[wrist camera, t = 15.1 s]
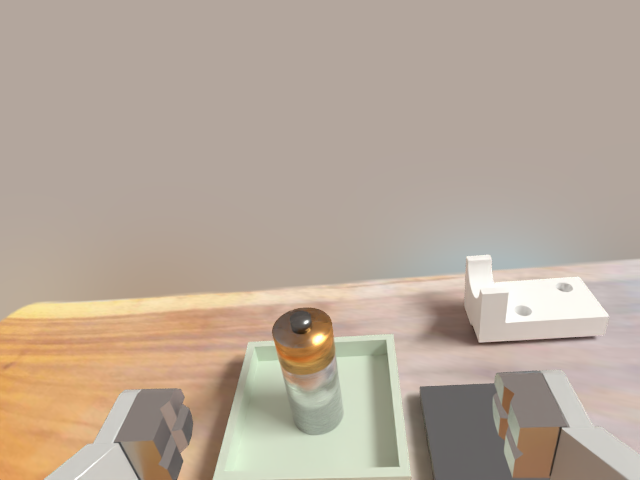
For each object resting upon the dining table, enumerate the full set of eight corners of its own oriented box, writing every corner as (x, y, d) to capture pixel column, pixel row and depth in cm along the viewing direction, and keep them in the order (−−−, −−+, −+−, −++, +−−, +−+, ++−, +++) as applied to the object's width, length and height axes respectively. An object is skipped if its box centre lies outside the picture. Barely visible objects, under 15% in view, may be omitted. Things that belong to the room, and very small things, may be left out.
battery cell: (289, 436, 42) (265, 341, 36) (294, 392, 47) (274, 300, 41) (343, 435, 42) (329, 337, 36) (344, 390, 46) (331, 297, 40)
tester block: (436, 497, 37) (437, 473, 35) (419, 397, 45) (419, 374, 44) (566, 495, 36) (573, 470, 34) (524, 392, 44) (528, 368, 43)
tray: (220, 501, 39) (212, 480, 37) (253, 361, 52) (248, 342, 51) (411, 498, 37) (411, 476, 35) (394, 354, 51) (393, 333, 49)
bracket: (478, 348, 50) (482, 294, 46) (463, 307, 56) (466, 256, 52) (602, 341, 49) (617, 285, 45) (574, 300, 55) (584, 247, 51)
